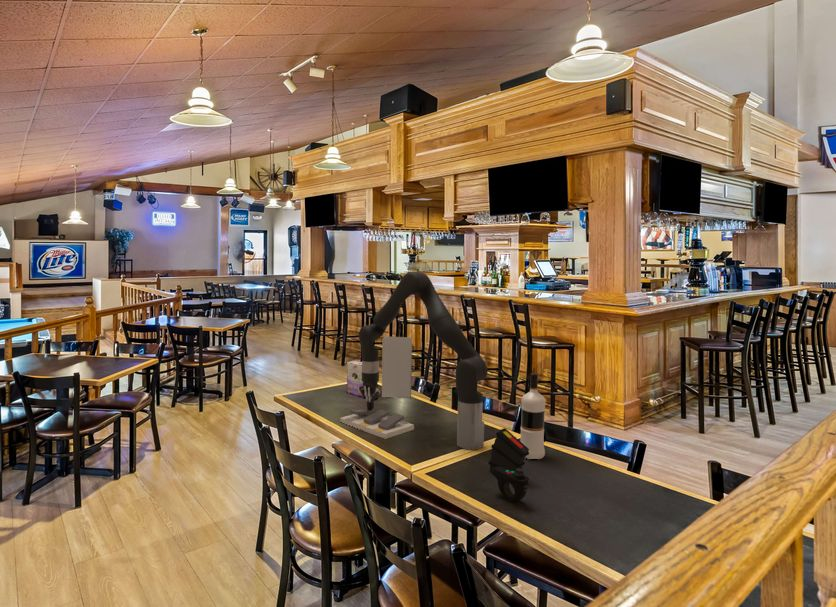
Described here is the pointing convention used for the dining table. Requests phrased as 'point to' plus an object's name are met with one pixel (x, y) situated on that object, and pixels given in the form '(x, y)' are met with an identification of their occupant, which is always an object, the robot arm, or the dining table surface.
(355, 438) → the dining table surface
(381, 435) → the switch panel
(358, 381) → the candy box
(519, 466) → the dark striped block
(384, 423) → the rocker near
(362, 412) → the rocker far
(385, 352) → the tall grey panel
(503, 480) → the controller
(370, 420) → the rocker mid
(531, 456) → the vodka
